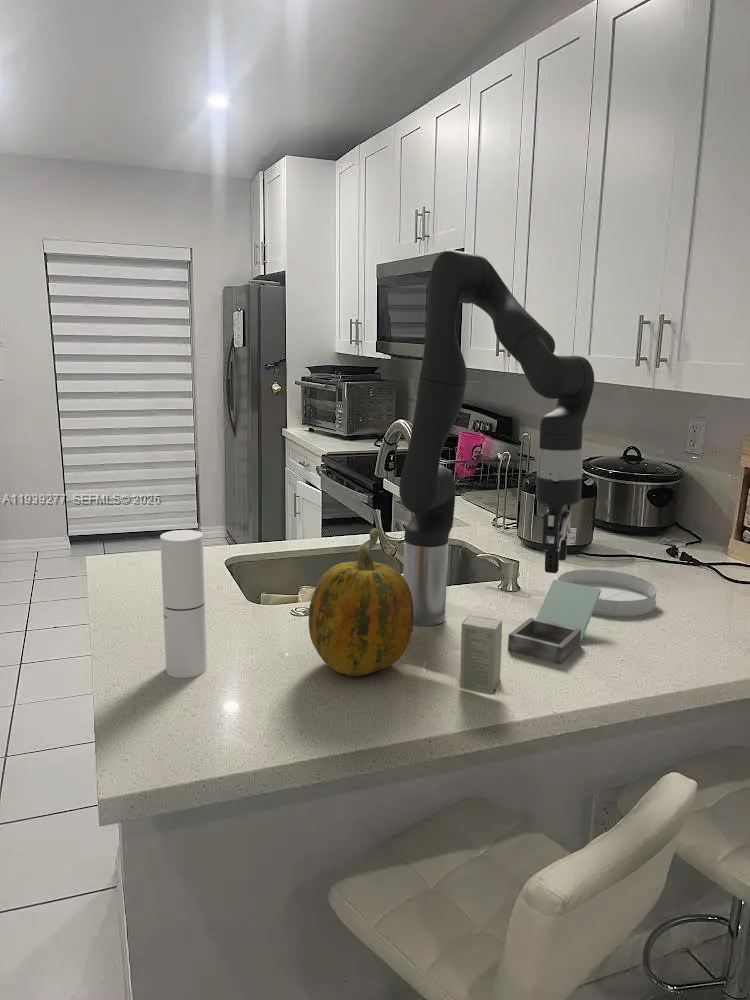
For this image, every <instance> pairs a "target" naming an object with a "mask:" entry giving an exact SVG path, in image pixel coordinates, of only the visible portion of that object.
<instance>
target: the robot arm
mask: <svg viewBox="0 0 750 1000" xmlns="http://www.w3.org/2000/svg"><path fill="white" fill-rule="evenodd" d="M429 276H430V277H429V283H428V284H429V285H428V298H427V299H428V300H427V301H428V302H427V317H426V318H427V319H426V333H425V340H424V346H423V355H422V356H423V357H422V362H421V368H420V373H419V379H418V385H417V391H416V401H415V408H414V414H413V418H412V419H413V420H412V425H411V433H410V440H409V443H408V448H407V453H406V456H405V460H404V464H403V467H402V470H401V471H402V472H401V475H400V480H399V486H398V491H399V497H400V500H401V502H402V505H403V506H404V508H405V509H407V511H409V512H411V513H413V517H412V518H411V520H410V521H409V523H408V524H407V525H406V527H405V529H404V539H403V540H404V543H403V546H404V547H403V571H402V572H403V573H401V574H400V575H402V577H403V578H404V579H405V580H406V582H407V584H408V586H409V588H410V591H411V594H412V599H413V609H414V621H413V625H416V626H426V627H427V626H434V625H435V626H436V625H439V624H442V623H443V622H444V621H445V620H446V603H447V600H446V599H447V582H448V581H447V579H448V560H449V559H448V556H449V536H450V533H451V531H452V528H453V526H454V515H455V507H456V483H455V479H454V475H453V474H452V472H451V470H449V469H448V468H447V467H445V466H444V465H443V464H440V463H441V455H442V452H443V448H444V446H445V443H446V441H447V439H448V437H449V435H450V432H451V431H452V429H453V427H454V425H455V423H456V421H457V419H458V418H459V415H460V412H461V409H462V406H463V402H464V398H465V392H466V391H465V390H466V387H467V386H466V384H467V380H468V379H467V375H468V373H467V371H468V370H467V367H466V361H465V359H464V355H463V352H462V350H461V347H460V344H459V341H458V336H457V327H456V325H457V324H456V323H457V317H458V315H457V314H458V307H459V303H460V304H473V305H474V306H476V307H477V308H479V309H481V310H482V311H484V313H486V314H487V315H488V316H489V317H490V318H491V321H492V323H493V329H494V332H495V335H496V337H497V340H498V341H499V343H500V344H501V345H502V347H504V349H506V351H507V352H508V353H509V354H510V355H511V356H512V357H513V358H514V359H515V360H516V361H517V362H518V363H519V364H520V367H521V369H522V371H523V373H524V375H525V377H526V379H527V381H528V384H529V385H530V387H531V388H532V389H533V391H535V393H537V394H538V395H539V396H541V397H543V398H546V399H549V400H556V399H557V402H556V405H555V408H554V409H553V410H552V411H550V412H549V413H546V414H545V415H543V416H542V417H541V419H540V423H539V424H540V425H539V449H538V455H537V464H536V465H537V466H536V488H535V489H536V490H535V491H536V493H535V499H536V501H537V502H539V503H541V504H546V505H548V509H547V510H546V512H544V514H543V518H542V519H543V528H542V544H541V548H542V549H541V550H544V551H545V554H544V555H545V556H544V572H545V573H549V574H557V573H558V572H559V567H560V565H559V564H560V561H561V562H562V561H565V560H566V559H567V548H568V547H567V546H568V539H569V538H570V535H569V534H570V532H571V517H572V512H571V509H572V508H571V507H572V505H576V504H577V505H578V504H579V503H580V502H581V500H582V483H583V481H582V480H583V453H582V452H583V451H582V448H583V447H582V445H583V425H584V421H585V419H586V416H587V413H588V410H589V406H590V403H591V398H592V396H593V391H594V388H595V373H594V368H593V366H592V364H591V363H590V361H589V360H588V359H587V358H585V357H583V356H581V355H556V354H554V352H555V349H556V341H555V339H554V337H553V336H552V335H551V334H550V333H549V332H548V331H547V330H546V329H545V328H544V327H543V326H542V325H541V324H540V323H539V322H538V321H537V320H536V319H535V318H534V317H533V316H531V314H530V313H529V312H528V311H527V310H526V309H525V308H524V307H523V306H522V305H521V304H520V303H519V301H518V300H517V299H516V298H515V296H514V294H513V293H512V292H511V290H510V289H509V287H508V286H507V285H506V284H505V282H504V281H503V278H502V277H501V276H500V275H499V273H498V271H497V270H496V269H495V267H494V266H493V265H492V263H491V262H489V260H488V259H487V258H486V257H484V256H482V255H479V254H476V253H471V252H465V251H459V250H452V249H447V250H444V251H441V252H440V253H439V254H438V255H437V257H436V258H435V260H434V262H433V264H432V267H431V272H430V275H429ZM551 540H553V542H552V543H551V542H550V541H551Z"/></svg>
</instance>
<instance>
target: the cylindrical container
mask: <svg viewBox="0 0 750 1000" xmlns="http://www.w3.org/2000/svg"><path fill="white" fill-rule="evenodd" d="M159 536H160V556H161V557H160V558H161V559H160V560H161V582H162V583H161V585H162V603H163V604H162V606H163V627H164V630H163V631H164V649H165V650H164V654H165V671H166V674H167V675H168V676H170V677H173V678H176V679H177V678H178V679H188V678H194V677H197V676H201V675H202V674H204V673H205V672H206V671H207V670H208V663H207V662H208V661H207V660H208V657H207V633H206V631H207V630H206V593H205V569H204V568H205V566H204V565H205V564H204V534H203V533H202V532H201V531H198V530H193V529H178V530H170V531H166V532H163V533H162V534H160V535H159Z"/></svg>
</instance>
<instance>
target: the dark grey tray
mask: <svg viewBox="0 0 750 1000" xmlns="http://www.w3.org/2000/svg"><path fill="white" fill-rule="evenodd" d="M532 636H533V637H532ZM534 637H536V638H534ZM537 638H538V639H537ZM539 638H540V639H539ZM542 639H545V640H548V641H545V640H542ZM580 639H581V630H580V629H576V628H572V627H567V626H563V625H559V624H555V623H550V622H546V621H542V620H538V619H536V618H533V617H529V618H528V619H527V620H525V621H524V622H523V623H522V624H520V625H519V626H518V627H516V628H515V629H514V630H512V631H511V632H510V633H508V640H507V651H510V652H513V653H517V654H521V655H525V656H529V657H533V658H536V659H539V660H544V661H547V662H550V663H555V664H557V665H558V664H559V665H562V664H563V662H566V660H567V659H568V658H569V657H570V656H571V655H572V654H573V653H574V652H575V651H576V650H577V649H578V648H579V647H581V643H580ZM550 641H552V642H550ZM553 642H556V643H553ZM558 643H559V644H558Z"/></svg>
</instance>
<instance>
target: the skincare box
mask: <svg viewBox="0 0 750 1000" xmlns="http://www.w3.org/2000/svg"><path fill="white" fill-rule="evenodd" d="M460 633H461V640H460V678H459V681H460V682H459V684H460V685H459V688H460V689H463V690H468V691H472V692H477V693H482V694H488V695H492V696H493V695H495V693H496V692H497V689H496V687H497V684H498V683H499V682H500V680H501V665H502V664H501V663H502V661H501V660H502V638H503V637H502V636H503V620H500V619H493V618H487V617H482V616H476V615H475V616H474V615H468V616H467V617H466V618H465V619H464V620H463V621H462V622H461V632H460Z"/></svg>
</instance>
